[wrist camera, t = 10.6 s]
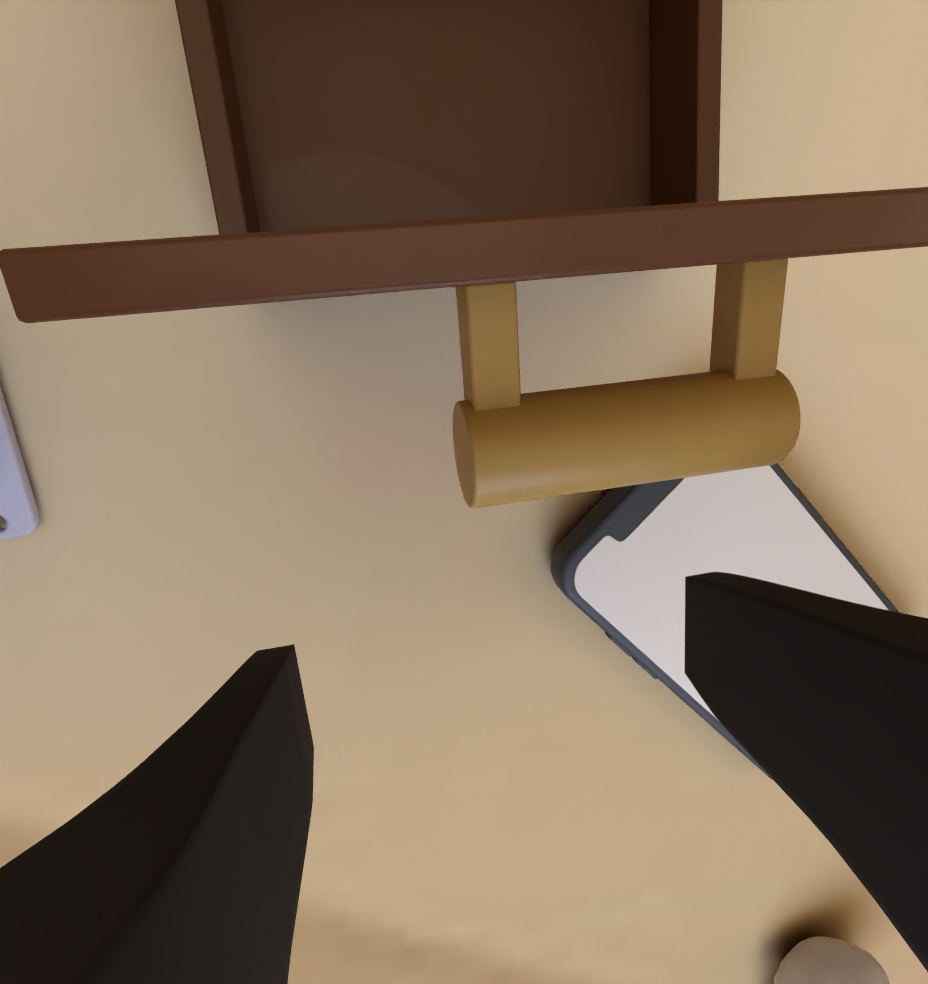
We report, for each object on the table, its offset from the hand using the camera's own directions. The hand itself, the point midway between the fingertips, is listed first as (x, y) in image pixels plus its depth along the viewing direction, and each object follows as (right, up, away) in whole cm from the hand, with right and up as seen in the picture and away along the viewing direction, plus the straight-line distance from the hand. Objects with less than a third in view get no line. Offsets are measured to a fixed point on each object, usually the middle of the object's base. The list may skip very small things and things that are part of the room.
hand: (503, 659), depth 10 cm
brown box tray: (-1, +14, +7) cm, 16 cm away
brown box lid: (+1, +8, 0) cm, 8 cm away
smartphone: (+10, -1, +13) cm, 17 cm away
